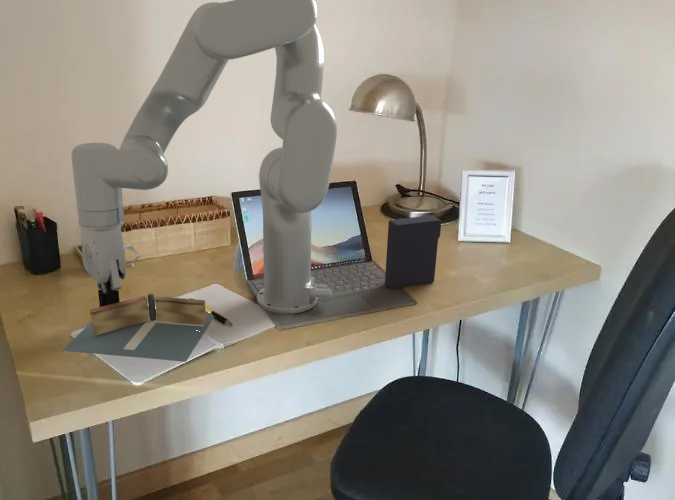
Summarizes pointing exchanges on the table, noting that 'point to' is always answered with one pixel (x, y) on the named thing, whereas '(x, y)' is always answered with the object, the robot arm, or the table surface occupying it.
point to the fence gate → (119, 315)
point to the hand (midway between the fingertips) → (110, 309)
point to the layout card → (143, 340)
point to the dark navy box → (412, 251)
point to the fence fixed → (177, 310)
